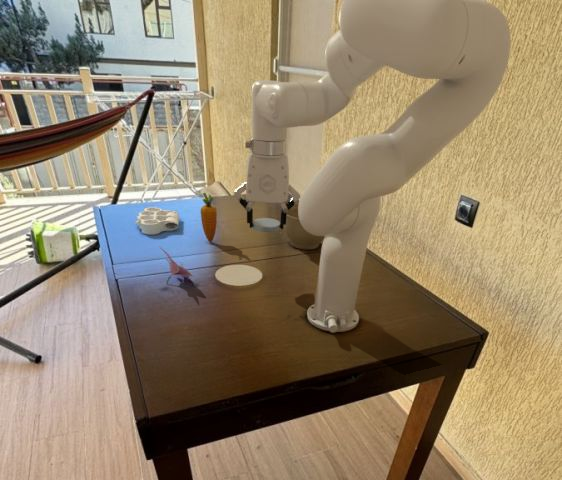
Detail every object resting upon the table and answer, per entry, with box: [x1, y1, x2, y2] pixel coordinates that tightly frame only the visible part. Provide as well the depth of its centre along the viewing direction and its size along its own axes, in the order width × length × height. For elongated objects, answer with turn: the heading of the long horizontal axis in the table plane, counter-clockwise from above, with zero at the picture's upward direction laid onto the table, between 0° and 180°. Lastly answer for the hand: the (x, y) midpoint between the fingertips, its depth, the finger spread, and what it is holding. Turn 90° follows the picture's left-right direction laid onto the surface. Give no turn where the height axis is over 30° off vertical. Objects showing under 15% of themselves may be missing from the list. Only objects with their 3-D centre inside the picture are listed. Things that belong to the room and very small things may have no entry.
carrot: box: [200, 192, 218, 243], centre depth 123 cm, size 5×5×15 cm
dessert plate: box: [214, 264, 263, 287], centre depth 108 cm, size 13×13×1 cm
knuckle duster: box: [133, 206, 180, 236], centre depth 135 cm, size 3×18×15 cm
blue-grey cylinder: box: [252, 217, 281, 233], centre depth 100 cm, size 7×7×2 cm
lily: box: [159, 246, 194, 285], centre depth 102 cm, size 12×12×10 cm
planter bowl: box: [283, 202, 325, 251], centre depth 127 cm, size 16×16×11 cm
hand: (266, 226), depth 100 cm, fingers closed on blue-grey cylinder, 7 cm apart
